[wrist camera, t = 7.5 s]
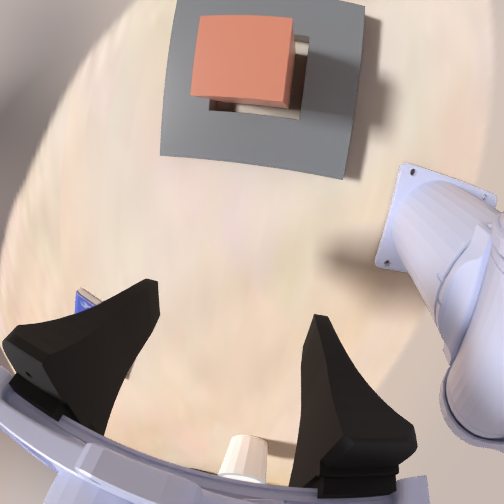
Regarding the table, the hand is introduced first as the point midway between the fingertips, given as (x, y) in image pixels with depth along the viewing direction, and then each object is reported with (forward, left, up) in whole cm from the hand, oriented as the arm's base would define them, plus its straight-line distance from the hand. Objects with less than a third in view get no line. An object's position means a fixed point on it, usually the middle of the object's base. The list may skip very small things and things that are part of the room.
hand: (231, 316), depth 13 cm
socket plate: (+1, -11, -9) cm, 15 cm away
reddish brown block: (+1, -11, -10) cm, 15 cm away
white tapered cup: (-3, +34, -10) cm, 35 cm away
